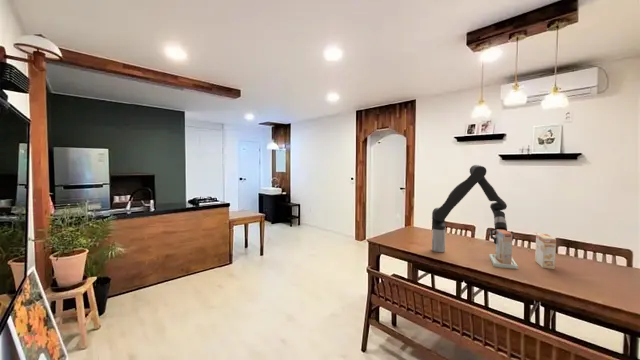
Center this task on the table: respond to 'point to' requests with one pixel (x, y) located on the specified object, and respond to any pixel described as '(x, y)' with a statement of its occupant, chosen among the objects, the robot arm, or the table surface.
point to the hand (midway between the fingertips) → (502, 244)
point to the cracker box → (504, 246)
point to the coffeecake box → (545, 250)
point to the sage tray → (498, 264)
